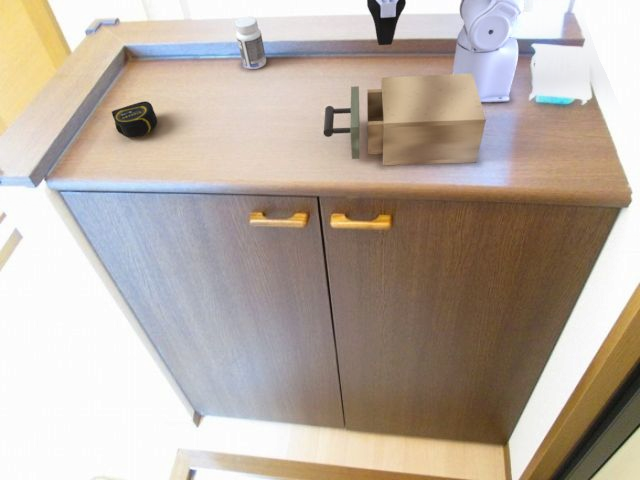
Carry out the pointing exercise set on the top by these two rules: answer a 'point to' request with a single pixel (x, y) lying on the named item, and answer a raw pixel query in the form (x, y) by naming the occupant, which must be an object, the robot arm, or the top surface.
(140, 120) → the tape measure
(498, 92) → the robot arm
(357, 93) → the drawer
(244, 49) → the pill bottle
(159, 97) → the top surface
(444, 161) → the cabinet
